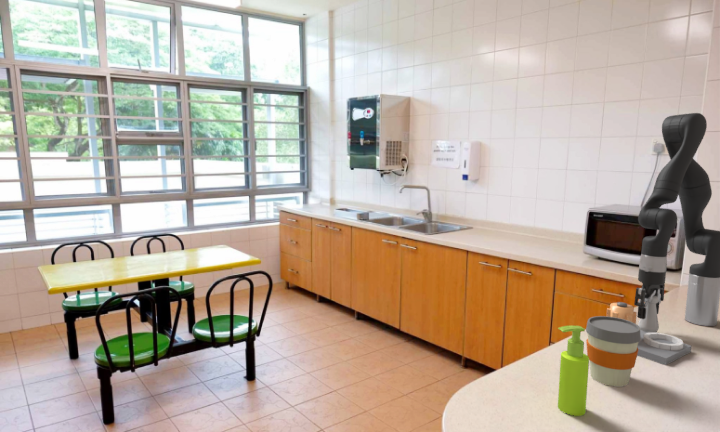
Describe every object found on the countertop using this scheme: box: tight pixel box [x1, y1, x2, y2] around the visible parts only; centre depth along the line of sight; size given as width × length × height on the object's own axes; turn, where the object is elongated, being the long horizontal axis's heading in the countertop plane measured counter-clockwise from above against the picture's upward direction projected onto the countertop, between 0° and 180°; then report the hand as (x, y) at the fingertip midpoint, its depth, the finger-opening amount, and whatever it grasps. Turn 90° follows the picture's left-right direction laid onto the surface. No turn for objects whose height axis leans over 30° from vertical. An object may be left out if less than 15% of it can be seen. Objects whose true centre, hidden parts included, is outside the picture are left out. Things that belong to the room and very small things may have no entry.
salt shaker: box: [637, 296, 660, 333], centre depth 151 cm, size 6×6×13 cm
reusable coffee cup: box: [585, 315, 641, 388], centre depth 120 cm, size 13×13×15 cm
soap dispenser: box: [557, 325, 590, 417], centre depth 105 cm, size 6×7×20 cm
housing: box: [606, 301, 692, 366], centre depth 141 cm, size 16×21×13 cm
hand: (647, 316), depth 151 cm, fingers open, 8 cm apart
